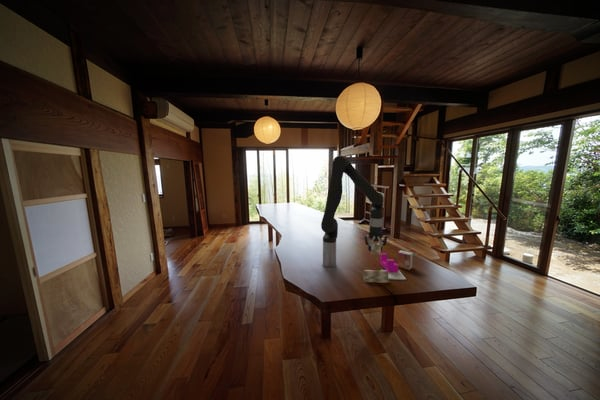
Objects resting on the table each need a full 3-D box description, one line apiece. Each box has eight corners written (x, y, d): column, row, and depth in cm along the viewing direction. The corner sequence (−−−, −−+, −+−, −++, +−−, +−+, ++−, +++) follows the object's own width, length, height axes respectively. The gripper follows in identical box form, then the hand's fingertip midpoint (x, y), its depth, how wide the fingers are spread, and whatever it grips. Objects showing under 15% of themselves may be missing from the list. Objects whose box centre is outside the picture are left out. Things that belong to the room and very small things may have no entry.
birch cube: (371, 254, 127) (371, 245, 127) (369, 250, 133) (369, 242, 132) (380, 254, 127) (380, 245, 126) (378, 251, 132) (378, 242, 132)
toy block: (398, 272, 132) (398, 260, 131) (388, 272, 132) (388, 260, 132) (389, 263, 147) (389, 253, 146) (380, 263, 147) (380, 253, 147)
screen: (364, 281, 123) (364, 272, 122) (363, 279, 125) (363, 269, 125) (389, 282, 121) (389, 273, 120) (387, 280, 124) (387, 270, 123)
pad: (385, 279, 125) (385, 277, 125) (380, 270, 136) (380, 269, 136) (405, 280, 124) (406, 278, 124) (399, 271, 135) (399, 270, 135)
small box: (397, 266, 142) (397, 252, 141) (399, 264, 146) (400, 249, 145) (409, 270, 137) (410, 254, 136) (412, 267, 141) (413, 252, 140)
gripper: (365, 226, 125) (364, 253, 127) (390, 226, 123) (388, 254, 125) (362, 223, 132) (362, 248, 134) (386, 223, 131) (385, 249, 133)
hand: (374, 251), depth 130 cm, fingers closed on birch cube, 5 cm apart
